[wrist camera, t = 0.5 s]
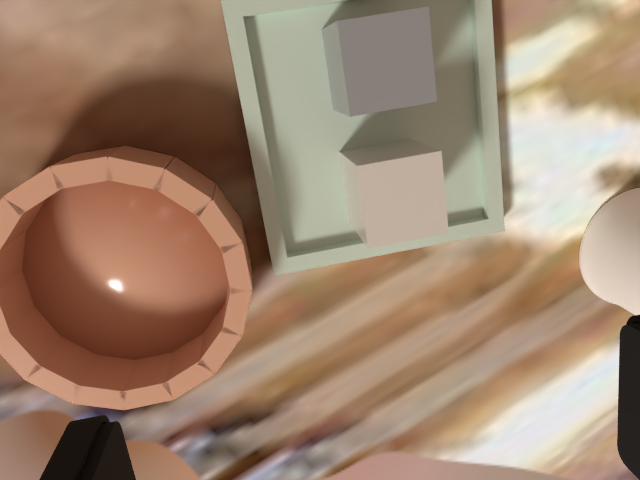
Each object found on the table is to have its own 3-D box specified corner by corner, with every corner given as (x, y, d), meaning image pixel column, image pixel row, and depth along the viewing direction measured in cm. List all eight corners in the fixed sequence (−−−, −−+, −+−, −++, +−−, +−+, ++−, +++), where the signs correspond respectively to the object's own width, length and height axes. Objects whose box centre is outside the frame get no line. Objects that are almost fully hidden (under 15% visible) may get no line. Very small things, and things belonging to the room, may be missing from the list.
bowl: (-28, 171, 32) (-70, 186, 28) (223, 128, 33) (220, 136, 29) (48, 388, 36) (22, 431, 32) (267, 344, 37) (270, 379, 33)
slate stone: (321, 29, 32) (337, 21, 26) (398, 17, 32) (428, 6, 27) (333, 109, 33) (350, 116, 28) (406, 97, 33) (437, 101, 28)
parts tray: (221, 2, 31) (220, -1, 30) (479, -37, 32) (489, -42, 31) (273, 268, 36) (274, 275, 35) (495, 225, 37) (504, 231, 36)
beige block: (339, 151, 34) (356, 166, 29) (411, 139, 34) (441, 150, 29) (349, 222, 35) (368, 248, 30) (418, 209, 35) (448, 232, 30)
